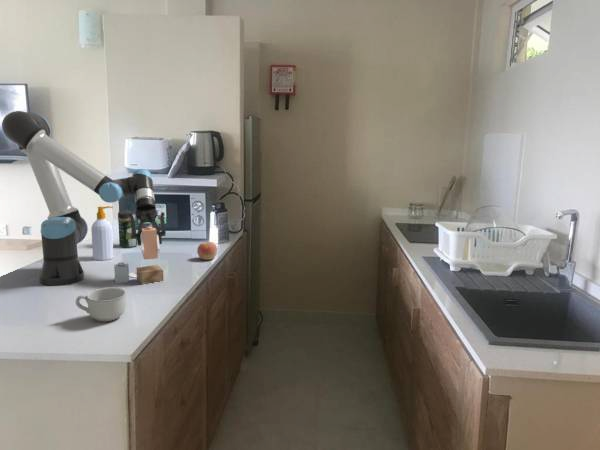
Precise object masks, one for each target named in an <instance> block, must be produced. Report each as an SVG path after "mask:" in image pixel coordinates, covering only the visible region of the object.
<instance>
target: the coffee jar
mask: <svg viewBox="0 0 600 450" xmlns="http://www.w3.org/2000/svg"><path fill="white" fill-rule="evenodd" d="M129 214H135V212H134V211H132V210H129V209H123V210H122V209H121V210H120V211H118V213H117V224H118V242H119V244H118V245H119V246H120V247H122V248H125V249H126V248H128V249H131V248H135V247H137V246H138V243H137V238H132V232H131V222H130V220H129ZM136 223H137V217H135V220H134V224H135V233H137V224H136Z"/></svg>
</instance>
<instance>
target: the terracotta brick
mask: <svg viewBox="0 0 600 450" xmlns="http://www.w3.org/2000/svg"><path fill="white" fill-rule="evenodd" d="M141 235H142V236H143V245H144V254H142V258H143V260H154V259H159V255H158V251H157V230H156V228H153V226H152V225H151V226H150V225H148V226H145V228H142V233H141Z"/></svg>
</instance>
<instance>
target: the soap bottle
mask: <svg viewBox="0 0 600 450" xmlns="http://www.w3.org/2000/svg"><path fill="white" fill-rule="evenodd" d="M110 208H111V209H113V206H109V205H108V206H107V205H106V206H97V212H96V220H95V221H94V222H93V223H92V225H91V228H90V229H91V230H90V231H91V243H92V247H91V248H92V258H93V260H95V261H108V260H111V259H114V242H113V241H114V240H113V237H114V236H113V226H112V224H111V223H110V221H109V220H108V219H107V218H106V212H105V211H104V209H110Z"/></svg>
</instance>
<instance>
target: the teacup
mask: <svg viewBox="0 0 600 450" xmlns="http://www.w3.org/2000/svg"><path fill="white" fill-rule="evenodd" d="M126 293H127V291H126V290H124V289H123V288H119V287H102V288H98V289H94V290H91V291H90V292H89V293H88V294H80V295H78V296H77V297H76V299H75V305H76V306H77V308H79V309H80V310H82V311H84V312H86V314H89V316H90V317H91V318H93V320H95V321H98V322H103V323H105V322H107V321H108V322H112V320H113V321H116V320H117V319H119V318H120V317H121V316H122V315H123V314H124V313H125V311H126V308H127V307H126V305H127V303H126V299H127V298H126ZM81 299H84V301H85V302H86V304H87V306H84V305H83V304H82V303H81V302H80V301H81ZM115 319H116V320H115Z"/></svg>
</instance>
